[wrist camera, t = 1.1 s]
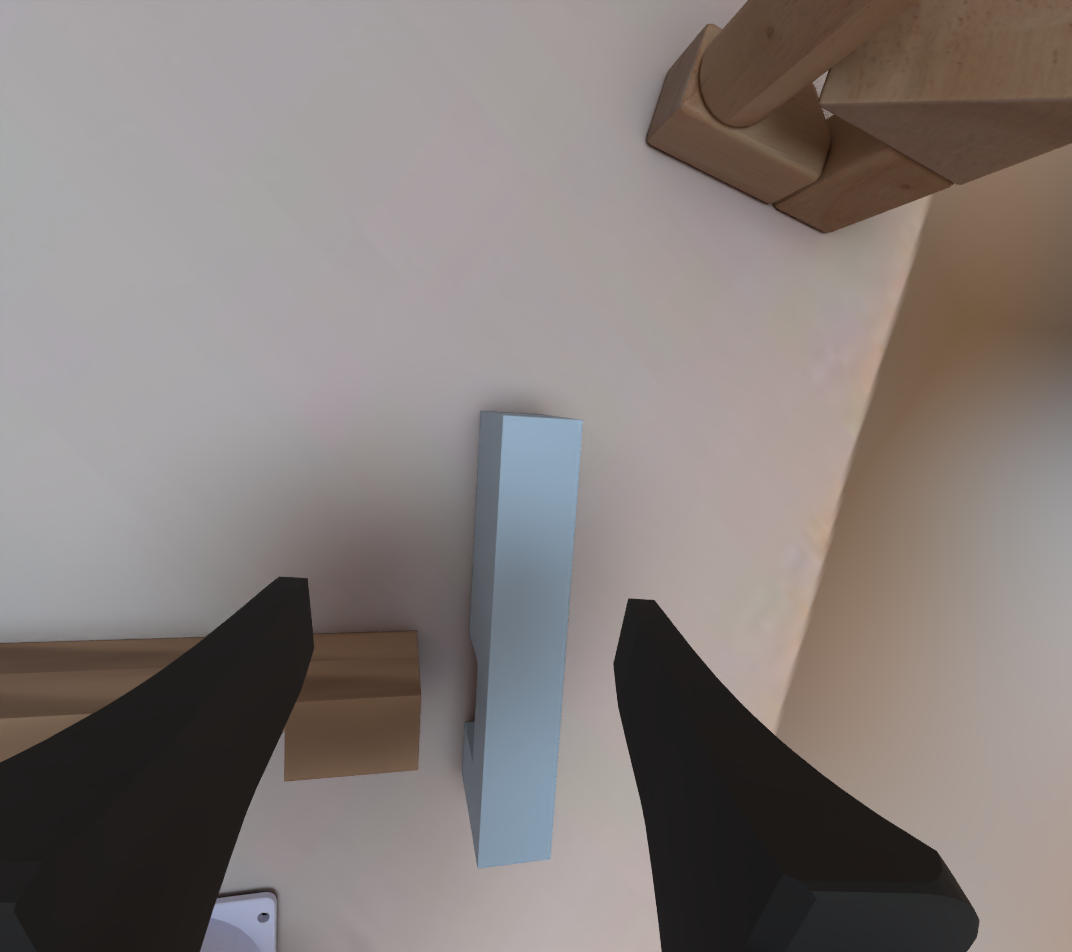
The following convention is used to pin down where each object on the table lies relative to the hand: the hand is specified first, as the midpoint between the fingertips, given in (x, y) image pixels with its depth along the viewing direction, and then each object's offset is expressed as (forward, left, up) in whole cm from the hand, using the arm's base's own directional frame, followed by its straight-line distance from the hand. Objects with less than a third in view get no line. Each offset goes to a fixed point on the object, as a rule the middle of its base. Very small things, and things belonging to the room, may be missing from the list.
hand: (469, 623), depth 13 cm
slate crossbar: (-4, -3, -14) cm, 15 cm away
